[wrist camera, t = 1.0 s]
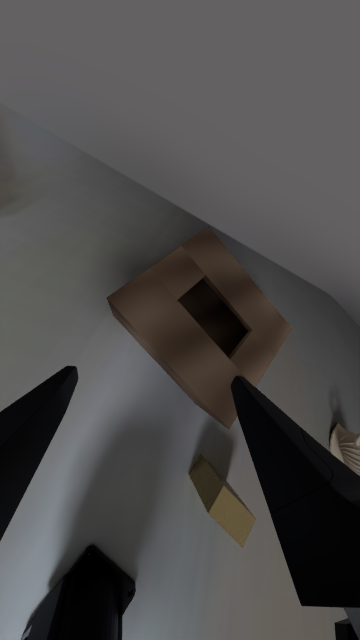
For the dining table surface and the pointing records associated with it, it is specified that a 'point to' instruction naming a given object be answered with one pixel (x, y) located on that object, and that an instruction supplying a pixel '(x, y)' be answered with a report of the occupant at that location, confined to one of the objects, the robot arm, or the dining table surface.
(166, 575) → the dining table surface
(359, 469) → the decorative ornament
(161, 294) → the walnut box
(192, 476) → the yellow square block
